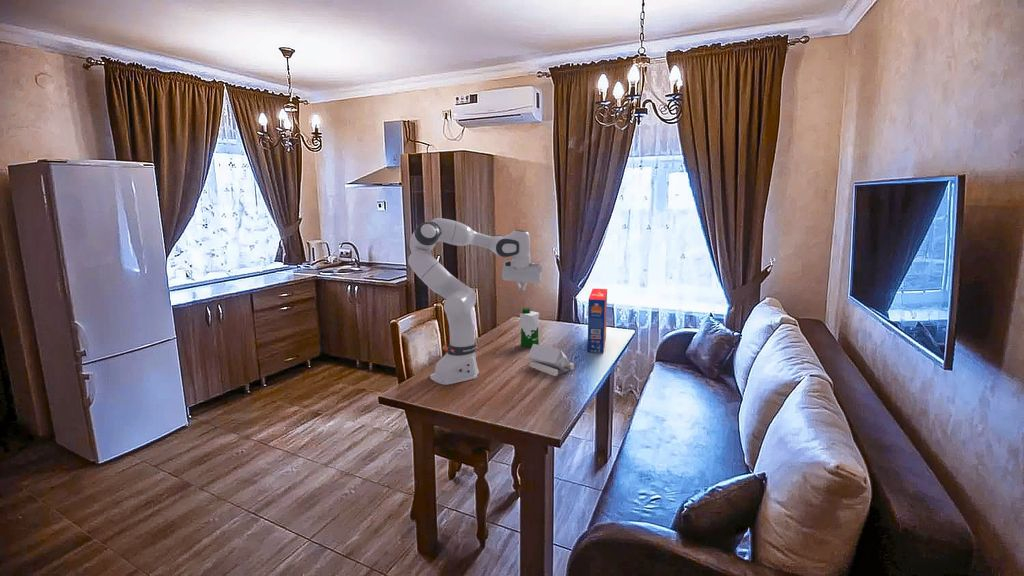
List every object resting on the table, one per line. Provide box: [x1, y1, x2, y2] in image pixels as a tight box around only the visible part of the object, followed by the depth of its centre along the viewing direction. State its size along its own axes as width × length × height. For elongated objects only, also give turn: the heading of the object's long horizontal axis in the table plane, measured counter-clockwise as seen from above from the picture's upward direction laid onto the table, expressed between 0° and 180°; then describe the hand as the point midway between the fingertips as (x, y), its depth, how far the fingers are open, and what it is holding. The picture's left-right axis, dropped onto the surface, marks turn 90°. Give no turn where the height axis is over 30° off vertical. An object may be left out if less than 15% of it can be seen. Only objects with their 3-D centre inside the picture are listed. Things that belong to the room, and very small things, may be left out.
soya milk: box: [519, 307, 540, 349], centre depth 257 cm, size 9×9×20 cm
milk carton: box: [527, 344, 572, 369], centre depth 224 cm, size 7×7×19 cm
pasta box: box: [587, 288, 608, 354], centre depth 256 cm, size 28×8×28 cm, turn 166°
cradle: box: [529, 360, 575, 377], centre depth 225 cm, size 13×16×2 cm
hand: (522, 290), depth 239 cm, fingers closed
